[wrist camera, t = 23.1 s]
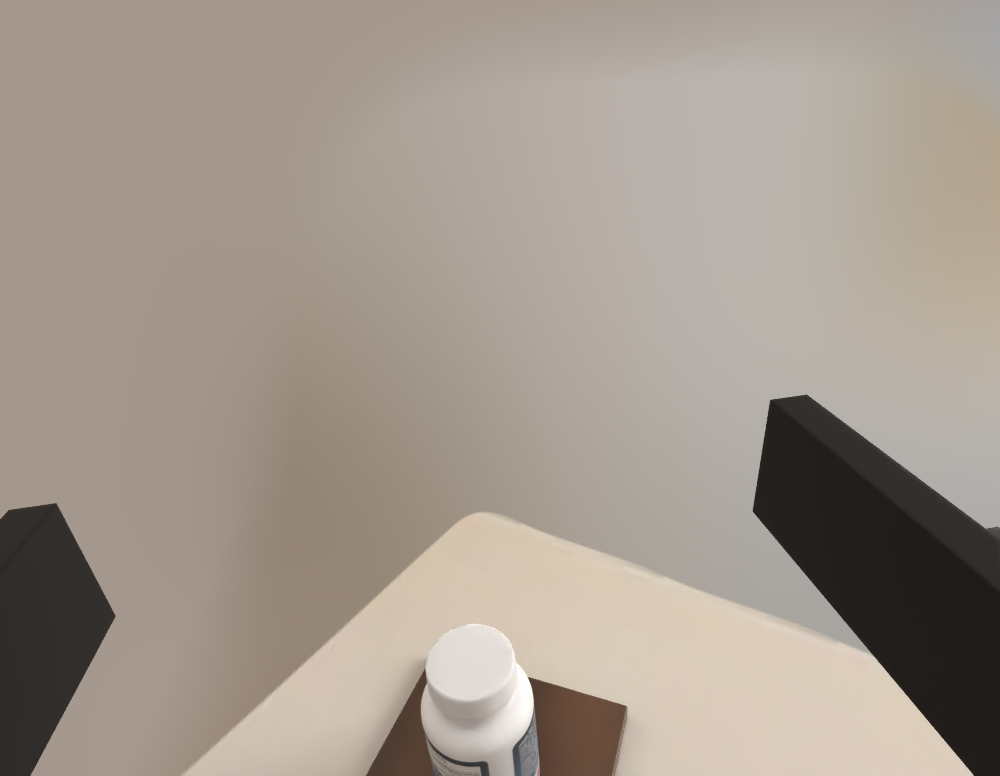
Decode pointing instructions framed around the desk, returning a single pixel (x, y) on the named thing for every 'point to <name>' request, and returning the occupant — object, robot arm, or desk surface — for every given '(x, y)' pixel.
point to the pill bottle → (478, 706)
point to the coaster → (560, 734)
